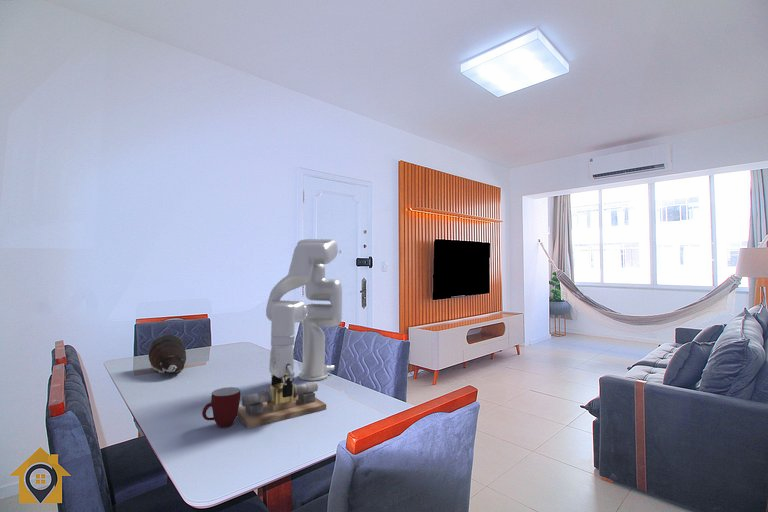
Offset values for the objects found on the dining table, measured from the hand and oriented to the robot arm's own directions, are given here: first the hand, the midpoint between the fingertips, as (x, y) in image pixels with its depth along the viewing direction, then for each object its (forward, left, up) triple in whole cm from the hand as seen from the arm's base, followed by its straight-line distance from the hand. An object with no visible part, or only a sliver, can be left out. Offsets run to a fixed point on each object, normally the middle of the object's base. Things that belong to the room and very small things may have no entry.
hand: (281, 392), depth 124 cm
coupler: (0, 0, -3) cm, 3 cm away
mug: (+19, +1, -6) cm, 20 cm away
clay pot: (+24, -71, -6) cm, 75 cm away
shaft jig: (0, 0, -6) cm, 6 cm away
